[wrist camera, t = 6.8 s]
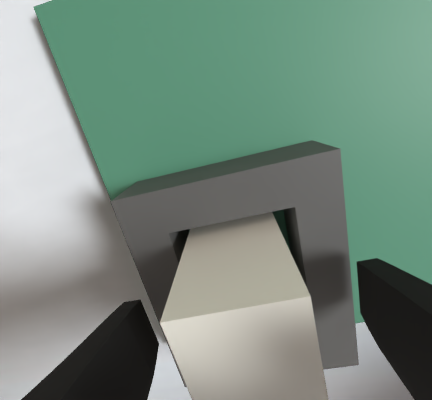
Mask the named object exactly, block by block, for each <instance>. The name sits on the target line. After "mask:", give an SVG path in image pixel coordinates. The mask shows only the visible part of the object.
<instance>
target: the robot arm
mask: <svg viewBox="0 0 432 400" xmlns="http://www.w3.org/2000/svg"><path fill="white" fill-rule="evenodd" d="M357 275H358V288H359V302H360V313H361V315H362V317H363V319H364V321H365V323H366V325H367V327H368V329H369V331H370V332H371V334H372V336H373V338H374V340H375V341H376V343H377V345H378V347H379V348H380V350H381V351H382V353H383V354H384V356H385V357H386V359H387V360H388V362H389V363H390V364H391V366H392V367H393V369H394V370H395V372H396V373H397V375H398V376H399V378H400V379H401V381H402V382H403V383H404V385H405V386H406V388H407V389H408V391H409V392H410V394H411V395H412V397H413V398H414V399H415V400H432V284H430V283H428V282H426V281H424V280H422V279H420V278H417V277H415V276H413V275H411V274H409V273H407V272H405V271H403V270H401V269H399V268H397V267H395V266H393V265H391V264H389V263H387V262H385V261H383V260H380V259H378V258H374V259H369V260H363V261H357ZM158 346H159V343H158V341H157V338H156V336H155V333H154V331H153V329H152V326H151V324H150V321H149V319H148V317H147V314H146V312H145V309H144V307H143V305H142V302H141V300H135V301H129V302H124V303H123V304H122V305H121V306H119V307H118V308H117V309H116V310H115V311H114V312H113V313H112V314H111V315H110V316H109V317H108V318H107V319H106V320H105V321H104V322H103V323H101V324H100V325H99V326H98V327H97V328H96V329H95V330H94V331H93V332H92V333H91V334H90V335H89V336H88V337H87V338H86V339H85V340H84V341H83V342H82V343H81V344H80V345H79V346H78V347H77V348H76V349H75V350H74V351H73V352H72V353H71V354H70V355H69V356H68V357H67V358H66V359H65V360H64V361H63V362H62V363H60V364H59V365H58V366H57V367H56V368H55V369H54V370H53V371H52V372H51V373H50V374H49V375H48V376H46V377H45V378H44V379H43V380H42V381H41V382H40V383H39V384H38V385H37V386H36V387H35V388H34V389H32V390H31V391H30V392H29V393H28V394H27V395H26V396H25V397H24V398H22V399H21V400H147V398H148V394H149V391H150V387H151V384H152V380H153V376H154V370H155V365H156V359H157V352H158Z"/></svg>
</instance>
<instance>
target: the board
mask: <svg viewBox="0 0 432 400" xmlns="http://www.w3.org/2000/svg"><path fill="white" fill-rule="evenodd" d="M34 10H35V12H36V15H37V17H38V20H39V22H40V25H41V27H42V29H43V32H44V34H45V37H46V39H47V42H48V44H49V47H50V49H51V52H52V54H53V57H54V59H55V62H56V64H57V67H58V69H59V72H60V74H61V77H62V79H63V82H64V84H65V87H66V89H67V92H68V94H69V97H70V99H71V102H72V104H73V107H74V109H75V112H76V114H77V117H78V119H79V122H80V124H81V127H82V129H83V132H84V134H85V137H86V139H87V142H88V144H89V147H90V149H91V152H92V154H93V157H94V159H95V162H96V164H97V167H98V169H99V172H100V174H101V177H102V179H103V182H104V184H105V187H106V189H107V191H108V194H109V196H110V199H111V201H110V202H111V204H112V207H113V209H114V212H115V214H116V217H117V219H118V222H119V224H120V227H121V229H122V232H123V234H124V237H125V239H126V242H127V244H128V247H129V249H130V251H131V254H132V256H133V259H134V261H135V264H136V266H137V269H138V271H139V274H140V276H141V279H142V281H143V284H144V286H145V289H146V291H147V294H148V296H149V299H150V301H151V304H152V306H153V309H154V311H155V314H156V316H157V319H158V321H159V323H160V321H161V318H162V315H163V311H164V308H165V305H166V302H167V299H168V296H169V293H170V290H171V287H172V284H173V281H174V278H175V275H176V271H177V268H178V265H179V262H180V259H181V256H182V253H183V250H184V247H185V244H186V241H187V238H188V235H189V231H190V229H191V228H196V227H201V226H206V225H211V224H215V223H220V222H225V221H230V220H235V219H240V218H244V217H249V216H254V215H259V214H264V213H269V212H272V213H273V215H274V218H275V220H276V222H277V224H278V226H279V228H280V231H281V233H282V235H283V237H284V239H285V241H286V244H287V246H288V248H289V250H290V252H291V255H292V257H293V259H294V261H295V263H296V265H297V268H298V270H299V272H300V274H301V276H302V278H303V281H304V283H305V285H306V287H307V289H308V292H309V294H310V296H311V301H312V307H313V313H314V319H315V325H316V331H317V336H318V342H319V348H320V354H321V360H322V366H323V369H330V368H338V367H346V366H354V365H359V363H358V352H357V340H356V328H355V323H360V322H365V321H364V319H363V317H362V315H361V313H360V302H359V288H358V275H357V261H363V260H369V259H374V258H378V259H380V260H383V261H385V262H387V263H389V264H391V265H393V266H395V267H397V268H399V269H401V270H403V271H405V272H407V273H409V274H411V275H413V276H415V277H417V278H420V279H422V280H424V281H426V282H428V283H430V284H432V0H52V1H49V2H46V3H43V4H40V5H38V6H35V7H34ZM160 326H161V324H160ZM161 328H162V327H161ZM162 331H163V329H162ZM163 333H164V331H163ZM164 336H165V334H164ZM165 338H166V336H165ZM166 341H167V339H166ZM167 343H168V341H167ZM168 346H169V343H168ZM169 348H170V346H169ZM170 351H171V353H172V350H171V348H170ZM172 356H173V358H174V361H175V363H176V366H177V368H178V371H179V373H180V376H181V378H182V381H183V383H184V386H185V387H187V386H186V384H185V381H184V379H183V376H182V374H181V372H180V369H179V367H178V365H177V362H176V360H175V357H174V355H173V353H172Z"/></svg>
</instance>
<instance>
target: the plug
mask: <svg viewBox="0 0 432 400" xmlns="http://www.w3.org/2000/svg"><path fill="white" fill-rule="evenodd" d="M160 324H161V327H162V329H163V331H164V334H165V336H166V339H167V341H168V343H169V346H170V348H171V350H172V353H173V355H174V357H175V360H176V362H177V365H178V367H179V369H180V372H181V374H182V376H183V379H184V381H185V384H186V386H187V388H188V391H189V393H190V395H191V398H192V400H328V395H327V389H326V384H325V378H324V372H323V366H322V360H321V354H320V348H319V342H318V336H317V331H316V325H315V319H314V313H313V307H312V301H311V296H310V294H309V292H308V289H307V287H306V285H305V283H304V281H303V278H302V276H301V274H300V272H299V270H298V268H297V265H296V263H295V261H294V259H293V257H292V255H291V252H290V250H289V248H288V246H287V244H286V241H285V239H284V237H283V235H282V233H281V231H280V228H279V226H278V224H277V222H276V220H275V218H274V215H273V213H272V212H269V213H264V214H259V215H254V216H249V217H244V218H240V219H235V220H230V221H225V222H220V223H215V224H211V225H206V226H201V227H196V228H191V229H190V231H189V235H188V238H187V241H186V244H185V247H184V250H183V253H182V256H181V259H180V262H179V265H178V268H177V271H176V275H175V278H174V281H173V284H172V287H171V290H170V293H169V296H168V299H167V302H166V305H165V308H164V311H163V315H162V318H161V321H160Z"/></svg>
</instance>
